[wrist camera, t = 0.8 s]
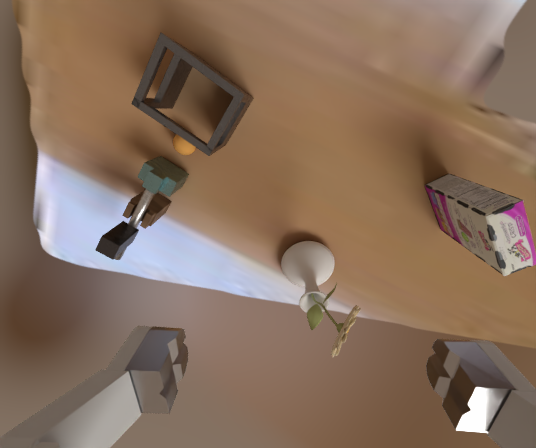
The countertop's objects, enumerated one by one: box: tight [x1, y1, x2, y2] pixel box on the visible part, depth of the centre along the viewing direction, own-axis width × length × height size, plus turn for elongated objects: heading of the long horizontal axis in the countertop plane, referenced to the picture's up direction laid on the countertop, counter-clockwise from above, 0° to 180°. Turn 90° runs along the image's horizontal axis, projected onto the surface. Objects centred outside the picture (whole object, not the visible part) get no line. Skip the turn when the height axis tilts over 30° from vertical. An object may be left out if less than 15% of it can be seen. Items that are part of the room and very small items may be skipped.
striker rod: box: [96, 156, 189, 260], centre depth 46 cm, size 20×6×14 cm, turn 146°
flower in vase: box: [281, 241, 361, 357], centre depth 46 cm, size 13×11×25 cm
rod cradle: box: [123, 192, 171, 228], centre depth 49 cm, size 3×5×8 cm, turn 55°
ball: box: [173, 134, 196, 155], centre depth 46 cm, size 4×4×4 cm
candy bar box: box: [425, 174, 536, 276], centre depth 43 cm, size 11×5×16 cm, turn 31°
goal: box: [132, 33, 253, 156], centre depth 40 cm, size 10×12×12 cm
